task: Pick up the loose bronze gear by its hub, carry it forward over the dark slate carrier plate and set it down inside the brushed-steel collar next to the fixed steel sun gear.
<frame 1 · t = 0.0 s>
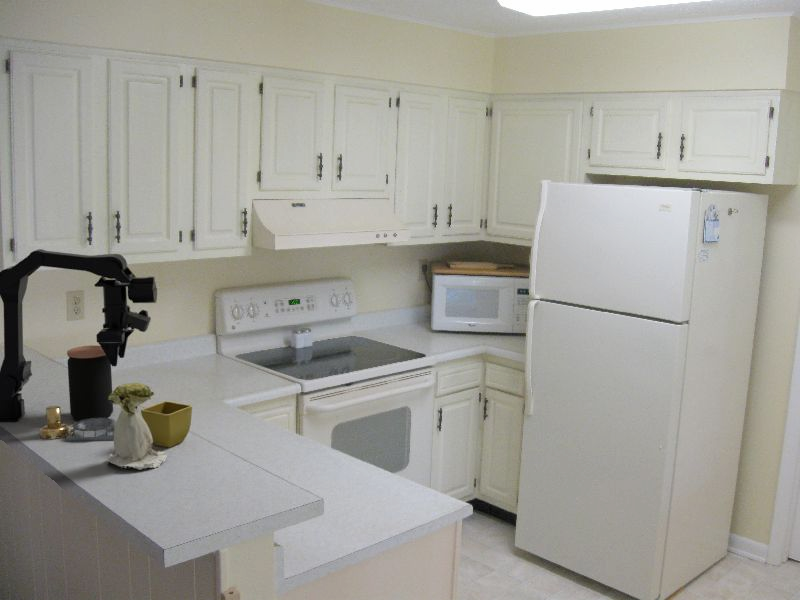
hand: (118, 361, 224), 15 cm above the table, tool pointing down, fingers open, 9 cm apart
flower pot: (168, 444, 205), on the table
coffee jar: (92, 417, 225), on the table
cream lumpy figure: (137, 462, 193), on the table
sun gear: (132, 432, 213), resting on carrier
planet gear: (54, 435, 210), on the table
carrier: (111, 433, 212), on the table
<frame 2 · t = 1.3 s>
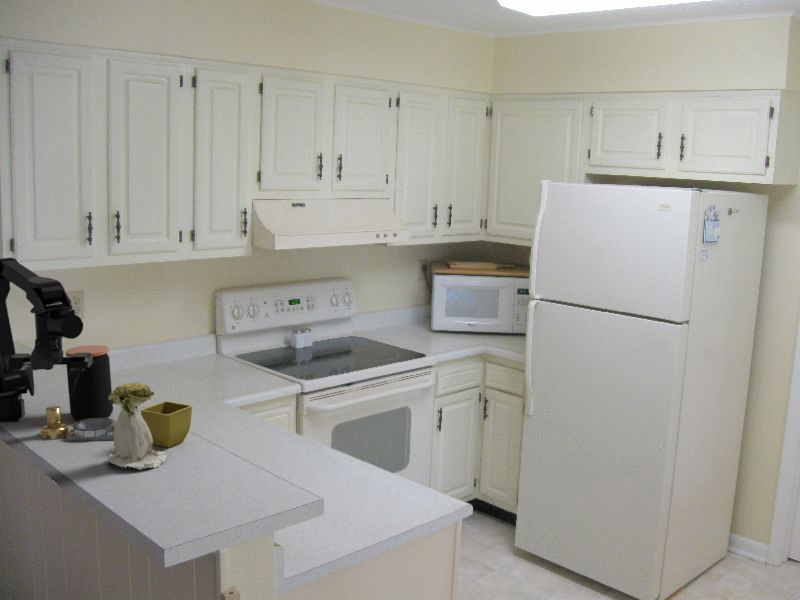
hand: (52, 395, 209), 10 cm above the table, tool pointing down, fingers open, 9 cm apart
nothing on the table moved.
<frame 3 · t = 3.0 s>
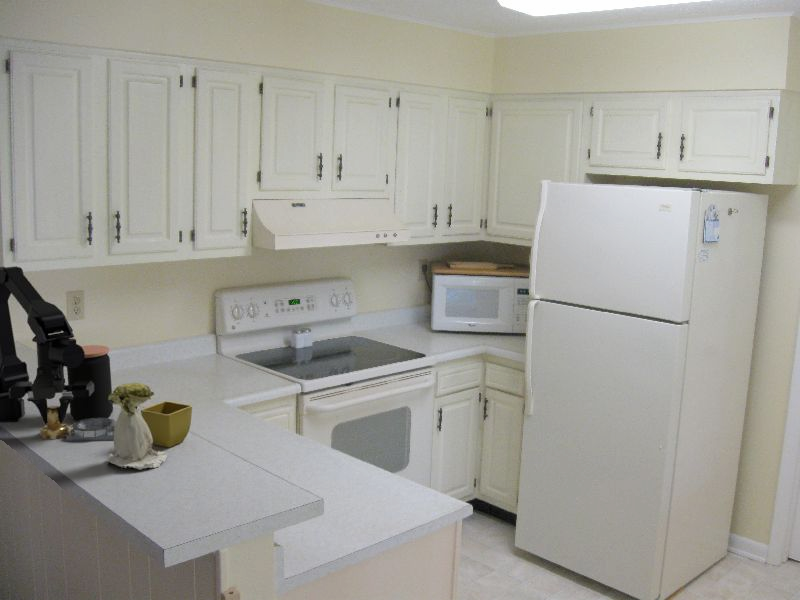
hand: (54, 423, 210), 3 cm above the table, tool pointing down, fingers closed on planet gear, 3 cm apart
planet gear: (54, 435, 210), on the table, touching gripper
everything else where it was.
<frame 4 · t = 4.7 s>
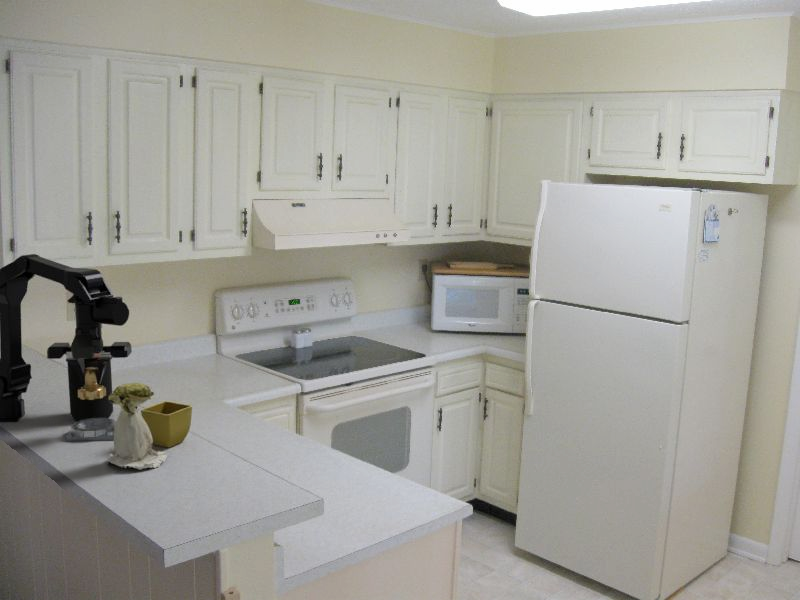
hand: (91, 384, 209), 13 cm above the table, tool pointing down, fingers closed on planet gear, 3 cm apart
planet gear: (92, 396, 210), point 10 cm above the table, touching gripper
everything else where it was.
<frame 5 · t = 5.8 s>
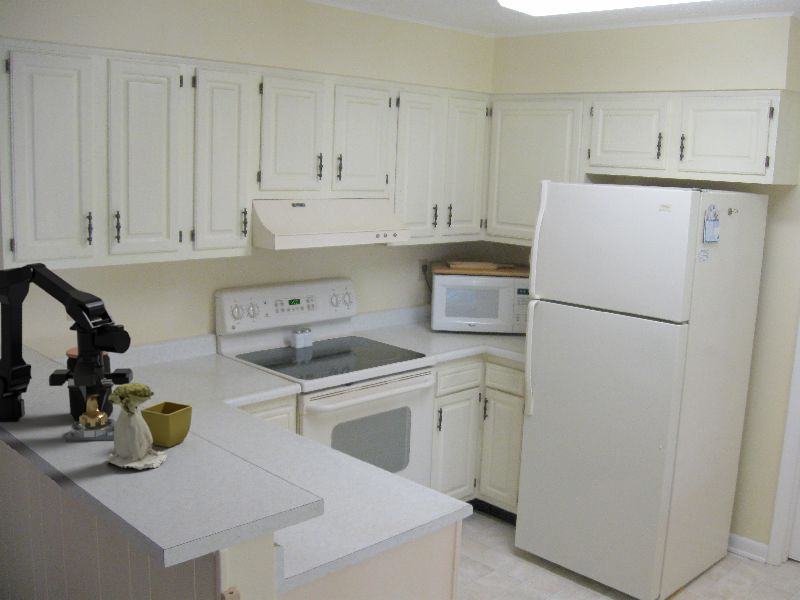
hand: (93, 410, 211), 6 cm above the table, tool pointing down, fingers closed on planet gear, 3 cm apart
planet gear: (93, 422, 211), point 3 cm above the table, touching gripper
everything else where it was.
when the fingers open (5 cm above the table, at t = 6.6 s): planet gear drops 1 cm, resting on carrier.
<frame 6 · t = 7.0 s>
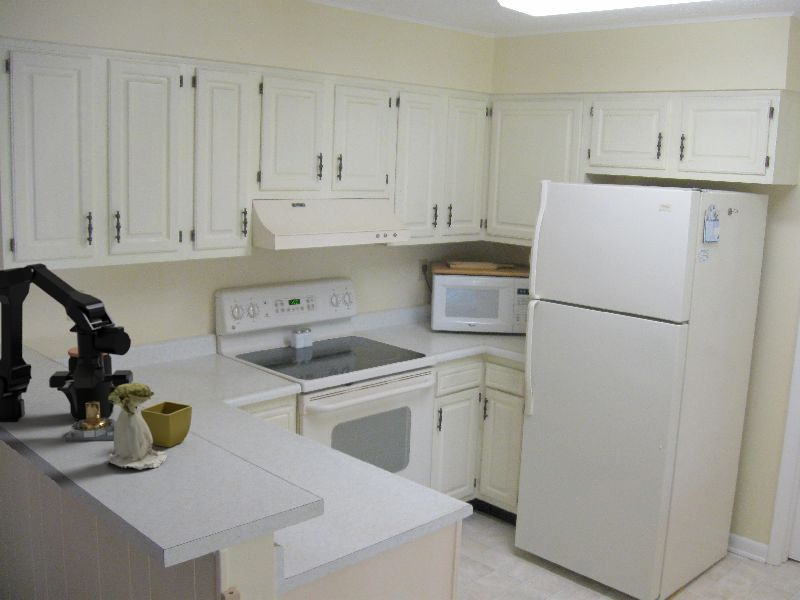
hand: (93, 412, 211), 5 cm above the table, tool pointing down, fingers open, 8 cm apart
planet gear: (94, 430, 211), point 1 cm above the table, touching carrier
everything else where it was.
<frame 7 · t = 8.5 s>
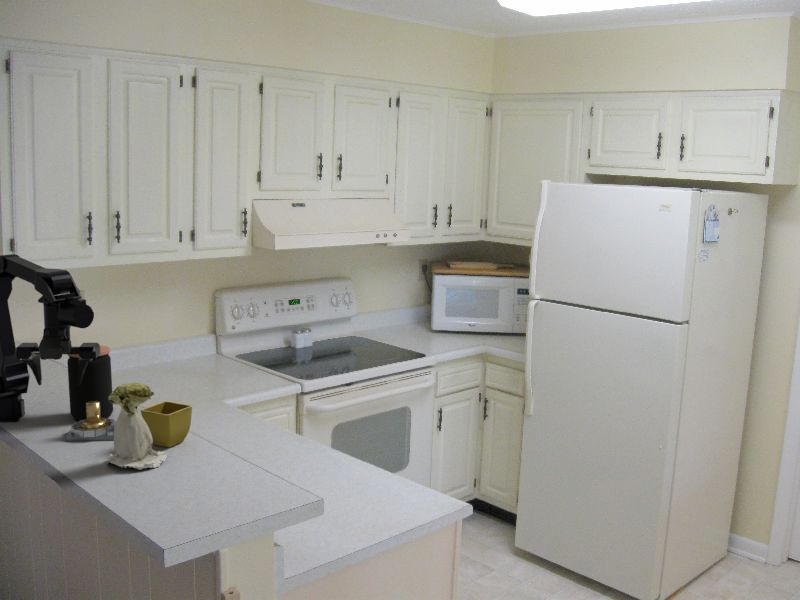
hand: (59, 384, 209), 13 cm above the table, tool pointing down, fingers open, 9 cm apart
nothing on the table moved.
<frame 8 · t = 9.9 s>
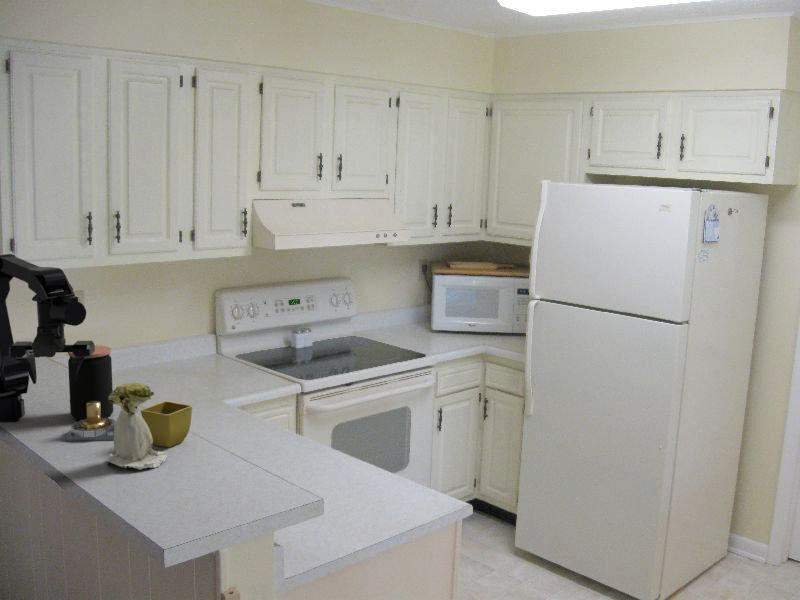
hand: (54, 383, 209), 13 cm above the table, tool pointing down, fingers open, 9 cm apart
nothing on the table moved.
at the end: planet gear 0.1 cm from the target spot on the carrier, point 1.1 cm above the carrier's base; planet gear tilted 2°; the gripper is holding nothing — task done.
